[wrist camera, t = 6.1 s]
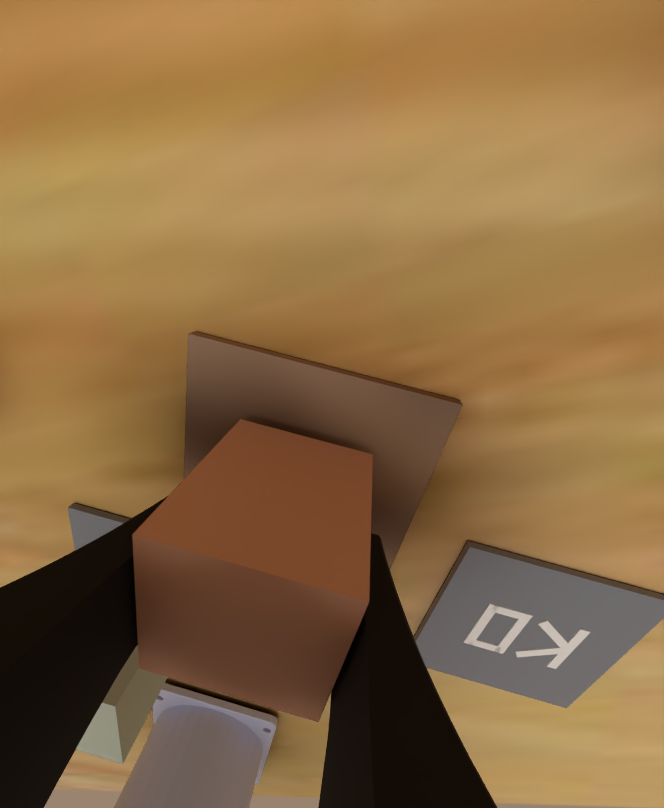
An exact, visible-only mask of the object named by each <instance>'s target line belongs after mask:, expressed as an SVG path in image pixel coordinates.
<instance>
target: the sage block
mask: <svg viewBox="0 0 664 808" xmlns="http://www.w3.org/2000/svg"><path fill="white" fill-rule="evenodd" d="M167 678H168V677H166V676H162V675H159V674H156V673H152V672H149V671H146V670H142V669H139V658H138V645H137V646H136V648H135V649H134V651H133V652H132V654H131V655H130V657H129V659H128V660H127V662H126V663H125V665H124V666H123V668H122V670H121V671H120V673H119V674H118V676H117V678H116V679H115V681H114V683H113V685H112V686H111V688H110V690H109V692H108V693H107V695H106V697H105V699H104V700H103V702H102V704H101V705H100V707H99V709H98V711H97V712H96V714H95V716H94V718H93V719H92V721H91V723H90V725H89V726H88V728H87V730H86V732H85V734H84V735H83V737H82V739H81V741H80V742H79V744H78V746H77V748H76V750H79V751H82V752H85V753H89V754H92V755H95V756H98V757H101V758H105V759H108V760H111V761H114V762H118V763H121V764H123V763H124V761H125V759H126V757H127V755H128V753H129V751H130V749H131V747H132V745H133V743H134V741H135V739H136V738H137V736H138V734H139V732H140V730H141V728H142V726H143V724H144V722H145V720H146V718H147V716H148V714H149V712H150V710H151V708H152V707H153V705H154V703H155V701H156V699H157V697H158V695H159V693H160V691H161V689H162V687H163V685H164V683H165V681H166V679H167Z"/></svg>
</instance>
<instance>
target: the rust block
mask: <svg viewBox="0 0 664 808" xmlns="http://www.w3.org/2000/svg"><path fill="white" fill-rule="evenodd" d="M372 468H373V454H369V453H365V452H361V451H358V450H354V449H350V448H347V447H343V446H339V445H335V444H332V443H328V442H324V441H320V440H317V439H313V438H309V437H305V436H302V435H298V434H294V433H291V432H287V431H283V430H279V429H276V428H272V427H268V426H264V425H261V424H257V423H253V422H250V421H246V420H242V419H240V420H239V421H238V422H237V423H236V425H235V426H234V427H233V428H232V429H231V430H230V431H229V432H228V433H227V434H226V435H225V436H224V437H223V438H222V439H221V441H220V442H219V443H218V444H217V445H216V446H215V447H214V448H213V449H212V450H211V451H210V452H209V453H208V454H207V455H206V457H205V458H204V459H203V460H202V461H201V462H200V463H199V464H198V465H197V466H196V467H195V468H194V469H193V470H192V471H191V473H190V474H189V475H188V476H187V477H186V478H185V479H184V480H183V481H182V482H181V483H180V484H179V485H178V486H177V487H176V489H175V490H174V491H173V492H172V493H171V494H170V495H169V496H168V497H167V498H166V499H165V500H164V501H163V502H162V503H161V505H160V506H159V507H158V508H157V509H156V510H155V511H154V512H153V513H152V514H151V515H150V516H149V517H148V518H147V519H146V521H145V522H144V523H143V524H142V525H141V526H140V527H139V528H138V529H137V530H136V531H135V532H134V533H133V534H132V538H133V558H134V578H135V598H136V618H137V638H138V658H139V669H142V670H146V671H149V672H152V673H156V674H159V675H162V676H166V677H169V678H172V679H176V680H179V681H182V682H186V683H189V684H192V685H196V686H199V687H202V688H206V689H209V690H212V691H216V692H219V693H223V694H226V695H229V696H233V697H236V698H239V699H243V700H246V701H249V702H253V703H256V704H259V705H263V706H266V707H269V708H273V709H276V710H279V711H283V712H286V713H289V714H293V715H296V716H299V717H303V718H306V719H309V720H313V721H316V722H319V719H320V717H321V715H322V712H323V710H324V708H325V705H326V703H327V701H328V698H329V696H330V693H331V691H332V689H333V686H334V684H335V682H336V679H337V677H338V675H339V672H340V670H341V667H342V665H343V663H344V660H345V658H346V656H347V653H348V651H349V649H350V646H351V644H352V641H353V639H354V637H355V634H356V632H357V630H358V627H359V625H360V623H361V620H362V618H363V615H364V613H365V611H366V608H367V606H368V604H369V590H370V549H371V509H372Z"/></svg>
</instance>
